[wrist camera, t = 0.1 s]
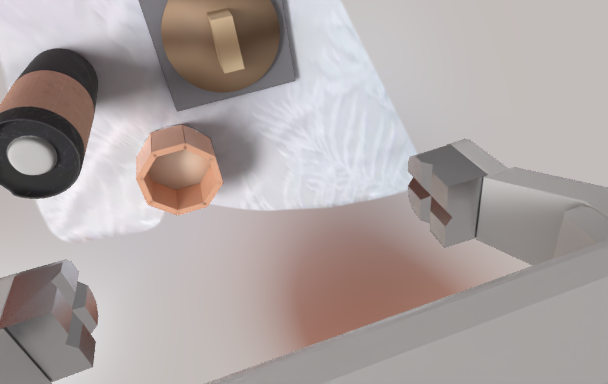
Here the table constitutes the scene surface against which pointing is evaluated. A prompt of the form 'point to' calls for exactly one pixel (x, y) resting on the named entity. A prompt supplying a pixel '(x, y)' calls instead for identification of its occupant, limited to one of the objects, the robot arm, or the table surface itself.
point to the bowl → (178, 170)
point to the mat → (193, 96)
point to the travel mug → (47, 124)
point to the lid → (220, 41)
